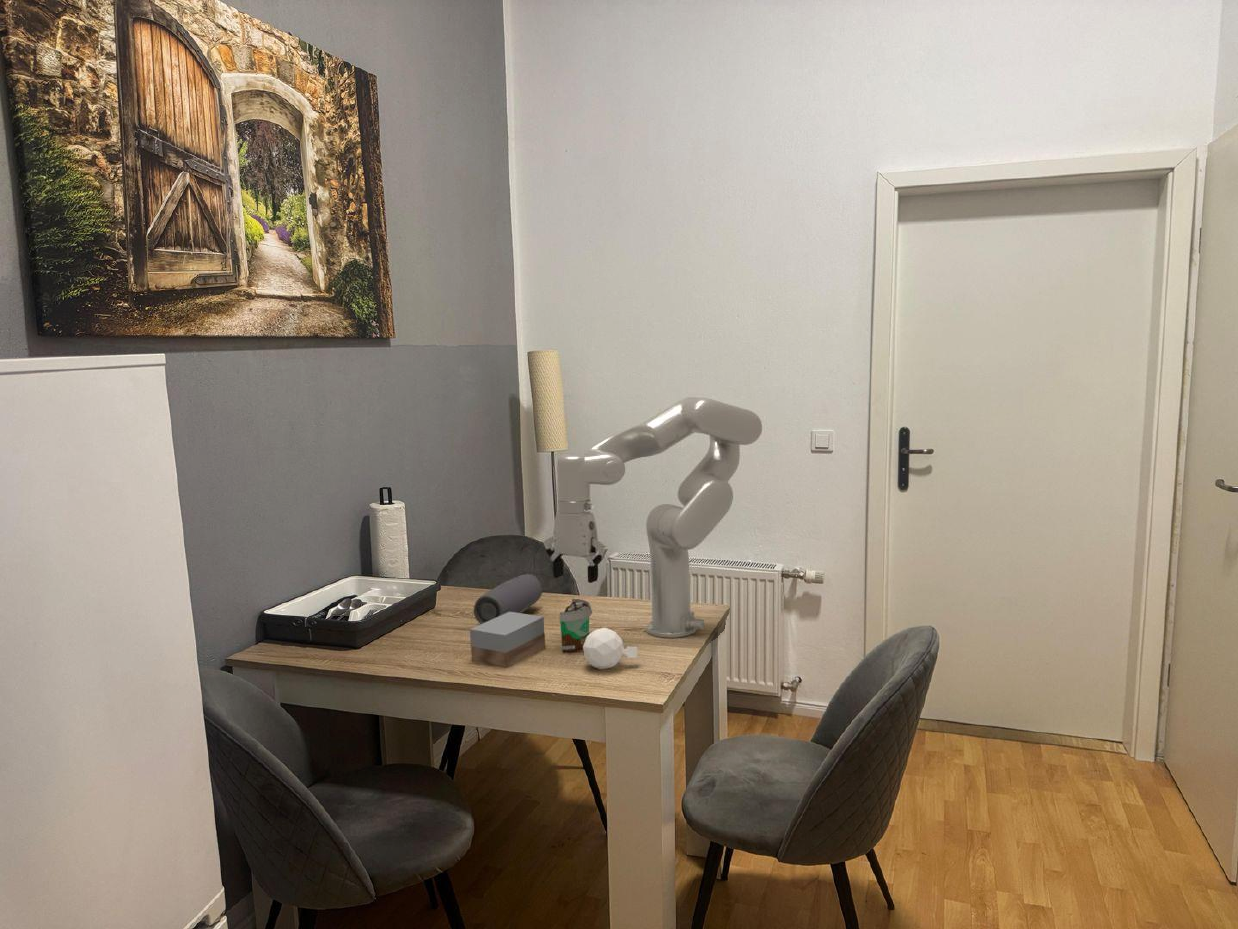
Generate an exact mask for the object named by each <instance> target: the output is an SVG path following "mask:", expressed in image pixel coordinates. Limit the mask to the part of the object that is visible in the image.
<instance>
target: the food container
mask: <svg viewBox="0 0 1238 929" xmlns="http://www.w3.org/2000/svg"><path fill="white" fill-rule="evenodd" d="M592 614H593V609H592V605H591V604H590V602H589V601H587V600H584V599H580V598H571V603H570V605H568V606H567V607H566V608H565V610H564V611H560V612H559V616H558V617H559V623H560V624H559V625H560V637H561V650H562V654H564V653H567V654H569V653H577V652H581V651H584V650H583V645H584V643H585V640H586V638H587V636H588V635H589V634H590V616H592Z"/></svg>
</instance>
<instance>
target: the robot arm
mask: <svg viewBox="0 0 1238 929" xmlns="http://www.w3.org/2000/svg"><path fill="white" fill-rule="evenodd" d="M762 432H763V425H762V421H761V419H760V417H759V416H758V415H757V413H756V412H753V411H752V410H749V409H747V408H742V407H738V406H735V405H732V404H728V403H725V402H722V401H718V400H715V399H711V398H708V397H707V398H706V397H695V396H694V397H693V396H690V397H689V396H688V397H686V398H683V399H681V400H678V401H677V402H675V403H674V404H672V405H670V406H669V407H667V408H665V409H664V410H662V411H660V412H659V413H657V414H656V415H654V416H652V417H650V418H649V419H647V420H645V421H644V422H641V423H640V424H638V425H635V426H632V427H631V428H628V429H625V430H623V431H621V432H619V433H615V434H614V435H612V436H610V437H608V438H606V439H605V440H602V441H601V442H599V443H598V444H596V445H594V446H593V447H591V448H590V449H587V451H586V452H584V454H581V453H566V454H562V455H559V457H558V458H557V463H556V471H557V472H556V473H557V477H556V478H557V480H556V481H557V512H556V513H555V516H554V524H553V536H551V537H549V538H547V539H545V540H543V545H544V548H545V549H546V554H547V555H548V557H550V561H551V562H552V572H553V578H554V579H557V578H561V577H562V576H564V560H563V558H562V557H563V556H570V557H577V558H579V557H580V558H585V559H586V561H587V563H588V564H589V565H587V582H588V583H590V584H592V583H594V582H597V581H598V579H599V564H601V562H602V561H603V559H605V555H606V553H607V552H608V547H607V546H606V545H605V544H603V543H602V542H600V541H599V538H598V531H597V530H598V529H597V522H596V518H595V514H594V513H593V512H591V510H594V509H595V504H594V503H591V485H599V486H601V485H603V486H612V485H615V484H618V483H619V482H620V481H621V480H623V477H624V476H625V473H626V465H625V463H628V462H630V461H632V460H635V459H641V458H646V457H652V456H655V455H659V454H662V453H664V452H666V451H667V450H668V449H670V448H673V446H675V445H676V444H678V443H680V442H682V441H683V440H685V439H686V438H688V437H689V436H691V435H693V434H694V433H696V434H704V435H707V436H709V446H708V450H707V452H706V454H705V455H704V456H703V458H702V459H701V461H700V462H699V463H698V464H697V465H696V466H695V467H694V468H693V470H691V472H690V473H689V474H688V475H687V476H686V477H685V478H684V480H683V481H682V482H681V483H680V484H679V487H678V490H677V497H678V501H679V502H680V504H681V505H683V507H681V506H678V505H675V504H669V503H663V504H660V505H659V504H658V505H656V506H655V507H654V508H652V509H651V510H650V512H649V514H648V515H647V518H646V525H645V530H646V535H647V541H648V546H649V557H650V558H649V559H650V585H651V586H650V587H651V588H650V589H651V620H652V621H649V622H648V623H647V624H646V626H645V631H646V632H647V633H648V634H650V635H651V636H655V637H660V638H668V639H669V638H681V637H687V636H691V635H693V634H694V633H696V632H697V630H698V629H699V630H704V629H705V628H704V627H705V620H704V619H703V618H697V617H695V611H691V592H690V591H691V590H690V588H691V586H690V584H691V583H690V557H689V556H690V555H689V550H693V549H694V548H697V547H698V546H699V545H700V544H702V543H703V541H704V540H705V539H706V538H707V537H708V536H709V535H710V534H711V533H712V531H713V530H714V529H715V528H716V527H717V525H718V524H719V523H720V522H721V521H722V520H723V518H724V517H725V516H726V514H728V512H729V510H730V508H731V506H732V503H733V500H734V490H733V489H732V488H733V487H732V486H731V484H730V483H729V481H730V480H731V478H732V477H733V476H734V475H735V473H736V472H737V470H738V468H739V464H740V458H741V457H740V456H741V455H740V453H741V452H740V447H741V446H748V445H751V444H753V443H755V442H756V441H758V439H759V438H760V437H761V435H762ZM597 553H598V554H597Z"/></svg>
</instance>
